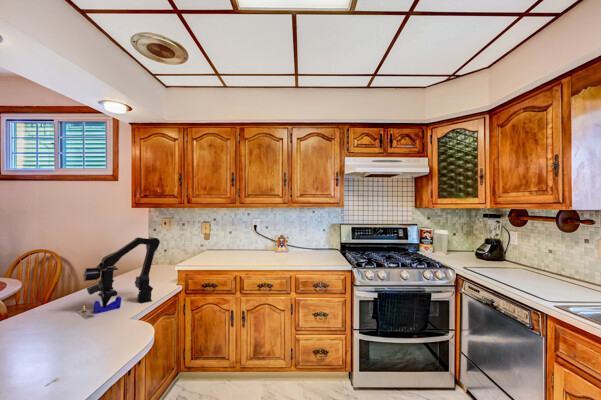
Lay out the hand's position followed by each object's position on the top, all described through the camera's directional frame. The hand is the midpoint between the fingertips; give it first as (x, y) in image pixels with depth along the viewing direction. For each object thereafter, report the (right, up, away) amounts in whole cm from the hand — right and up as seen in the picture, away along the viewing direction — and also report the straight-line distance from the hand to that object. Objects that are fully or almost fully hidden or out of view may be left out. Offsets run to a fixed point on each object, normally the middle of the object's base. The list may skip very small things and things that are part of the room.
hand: (104, 306), depth 148 cm
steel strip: (-3, -1, -9) cm, 9 cm away
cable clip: (+2, -1, -2) cm, 3 cm away
